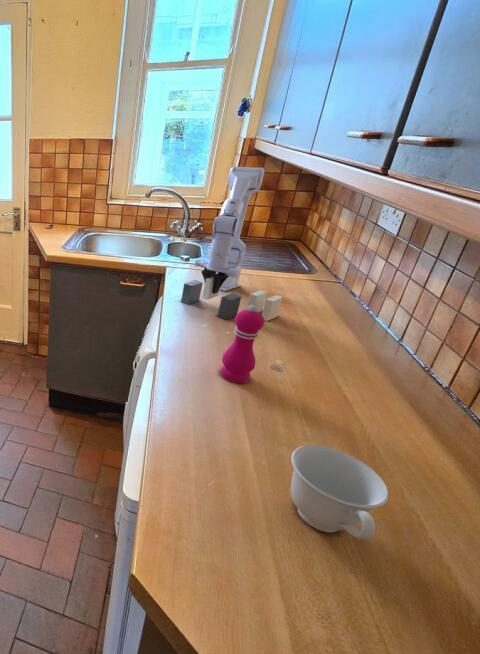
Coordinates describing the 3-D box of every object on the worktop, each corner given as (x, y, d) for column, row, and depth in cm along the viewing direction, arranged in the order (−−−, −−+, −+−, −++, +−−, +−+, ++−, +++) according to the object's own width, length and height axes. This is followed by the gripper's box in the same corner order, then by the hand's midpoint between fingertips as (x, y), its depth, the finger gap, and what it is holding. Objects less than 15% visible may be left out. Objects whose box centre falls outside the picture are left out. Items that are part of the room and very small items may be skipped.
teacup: (303, 563, 60) (325, 518, 56) (263, 482, 74) (278, 440, 69) (396, 577, 58) (426, 531, 54) (338, 491, 71) (358, 449, 67)
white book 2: (271, 314, 134) (276, 295, 131) (277, 316, 132) (283, 297, 129) (260, 318, 131) (266, 299, 128) (266, 321, 130) (272, 301, 127)
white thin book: (213, 293, 139) (217, 274, 136) (218, 295, 138) (222, 276, 135) (202, 297, 137) (206, 278, 134) (207, 299, 135) (211, 280, 132)
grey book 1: (191, 297, 147) (195, 279, 144) (199, 300, 145) (202, 282, 142) (180, 301, 144) (184, 283, 141) (188, 304, 142) (191, 286, 139)
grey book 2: (228, 312, 136) (232, 292, 133) (236, 315, 134) (241, 296, 131) (217, 316, 133) (221, 296, 130) (225, 319, 131) (230, 300, 128)
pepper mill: (253, 386, 99) (275, 313, 91) (220, 381, 101) (239, 309, 93) (247, 370, 105) (267, 300, 97) (216, 366, 107) (233, 297, 99)
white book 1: (255, 308, 138) (261, 289, 135) (261, 311, 136) (267, 291, 133) (245, 313, 135) (250, 293, 132) (251, 315, 134) (256, 295, 131)
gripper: (192, 249, 135) (185, 287, 140) (233, 261, 123) (224, 301, 129) (205, 245, 138) (198, 282, 144) (247, 257, 126) (237, 296, 132)
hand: (211, 291), depth 136 cm, fingers closed on white thin book, 2 cm apart
